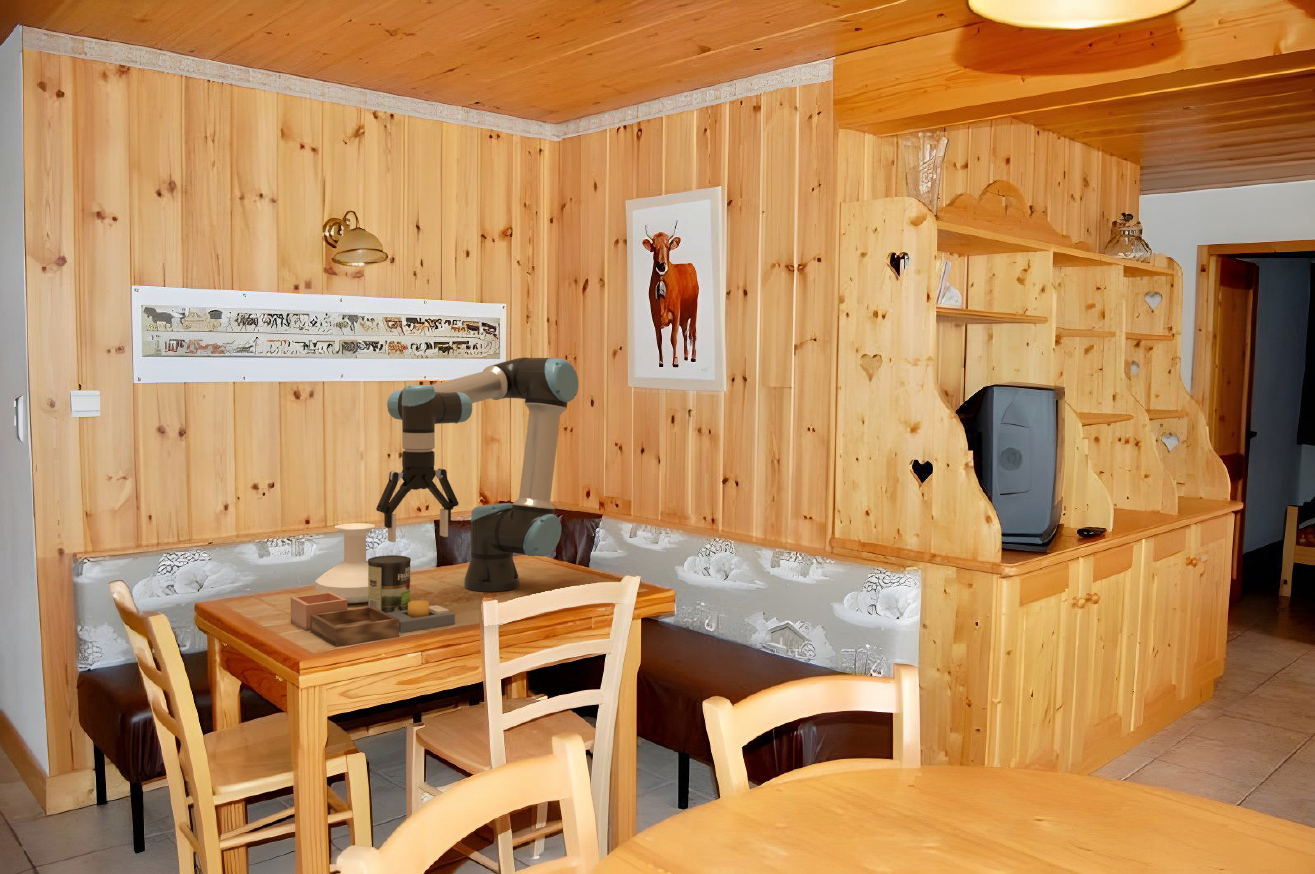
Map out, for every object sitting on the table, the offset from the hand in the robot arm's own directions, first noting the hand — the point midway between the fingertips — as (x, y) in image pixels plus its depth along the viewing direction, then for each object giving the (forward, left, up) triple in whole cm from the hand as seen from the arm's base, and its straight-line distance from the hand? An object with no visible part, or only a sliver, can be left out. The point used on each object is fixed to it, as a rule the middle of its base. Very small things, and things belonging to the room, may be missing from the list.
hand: (418, 538), depth 251 cm
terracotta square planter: (+19, -14, -21) cm, 31 cm away
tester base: (0, 0, -21) cm, 21 cm away
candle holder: (+2, -33, -21) cm, 39 cm away
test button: (0, 0, -19) cm, 19 cm away
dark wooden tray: (+16, 0, -21) cm, 26 cm away
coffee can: (+2, -12, -21) cm, 24 cm away
